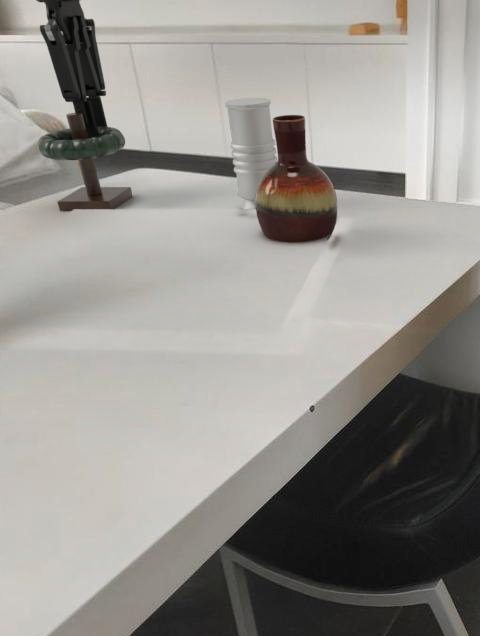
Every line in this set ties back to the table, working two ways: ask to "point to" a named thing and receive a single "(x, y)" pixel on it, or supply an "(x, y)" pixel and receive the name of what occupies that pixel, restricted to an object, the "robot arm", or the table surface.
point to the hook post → (90, 179)
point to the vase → (295, 190)
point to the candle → (251, 144)
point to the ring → (81, 144)
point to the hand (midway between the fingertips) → (97, 142)
